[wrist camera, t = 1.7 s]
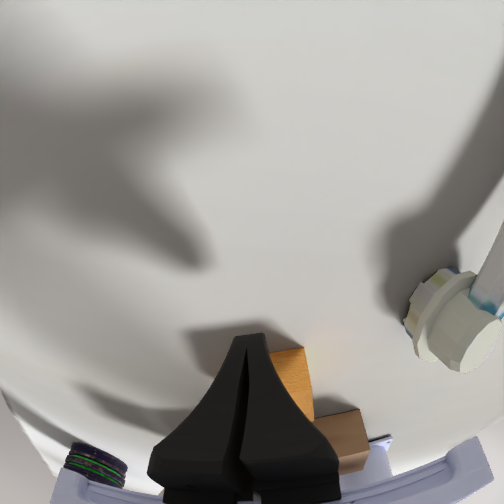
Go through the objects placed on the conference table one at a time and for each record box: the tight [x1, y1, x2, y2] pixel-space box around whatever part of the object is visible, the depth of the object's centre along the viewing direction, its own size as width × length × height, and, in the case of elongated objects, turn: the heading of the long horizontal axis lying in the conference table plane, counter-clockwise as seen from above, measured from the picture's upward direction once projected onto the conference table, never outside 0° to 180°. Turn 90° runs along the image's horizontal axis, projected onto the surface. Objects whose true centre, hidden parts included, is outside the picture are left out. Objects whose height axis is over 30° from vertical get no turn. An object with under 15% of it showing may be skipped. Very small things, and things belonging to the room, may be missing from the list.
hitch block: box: [312, 409, 370, 476], centre depth 22 cm, size 6×16×5 cm, turn 101°
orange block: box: [269, 347, 314, 422], centre depth 19 cm, size 12×5×4 cm, turn 11°
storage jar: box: [63, 442, 128, 489], centre depth 24 cm, size 10×10×15 cm
